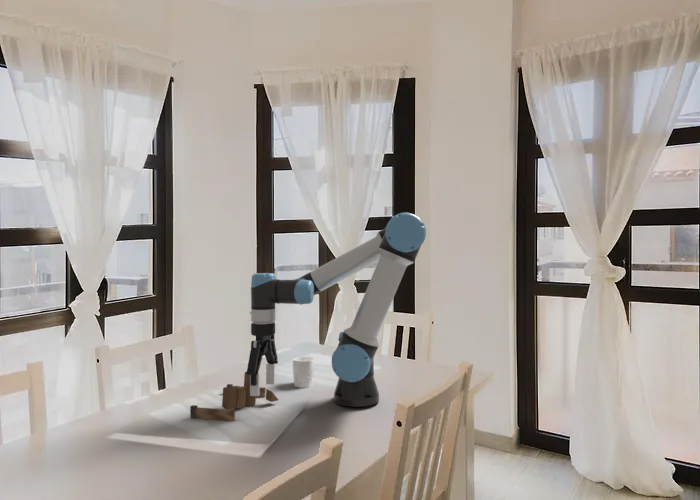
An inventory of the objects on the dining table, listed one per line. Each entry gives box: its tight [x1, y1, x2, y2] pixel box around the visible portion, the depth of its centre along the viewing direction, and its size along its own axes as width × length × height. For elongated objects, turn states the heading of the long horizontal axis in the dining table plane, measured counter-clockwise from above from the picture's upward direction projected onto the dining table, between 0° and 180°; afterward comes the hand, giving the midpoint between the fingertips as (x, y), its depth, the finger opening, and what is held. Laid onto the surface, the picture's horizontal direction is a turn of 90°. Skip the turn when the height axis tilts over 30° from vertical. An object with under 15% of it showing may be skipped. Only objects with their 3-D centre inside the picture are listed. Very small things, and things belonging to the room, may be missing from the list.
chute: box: [189, 383, 266, 422], centre depth 165 cm, size 14×26×4 cm, turn 168°
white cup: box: [292, 356, 315, 389], centre depth 189 cm, size 8×8×10 cm
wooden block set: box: [221, 370, 279, 410], centre depth 163 cm, size 18×9×10 cm, turn 135°
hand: (262, 389), depth 162 cm, fingers open, 13 cm apart
